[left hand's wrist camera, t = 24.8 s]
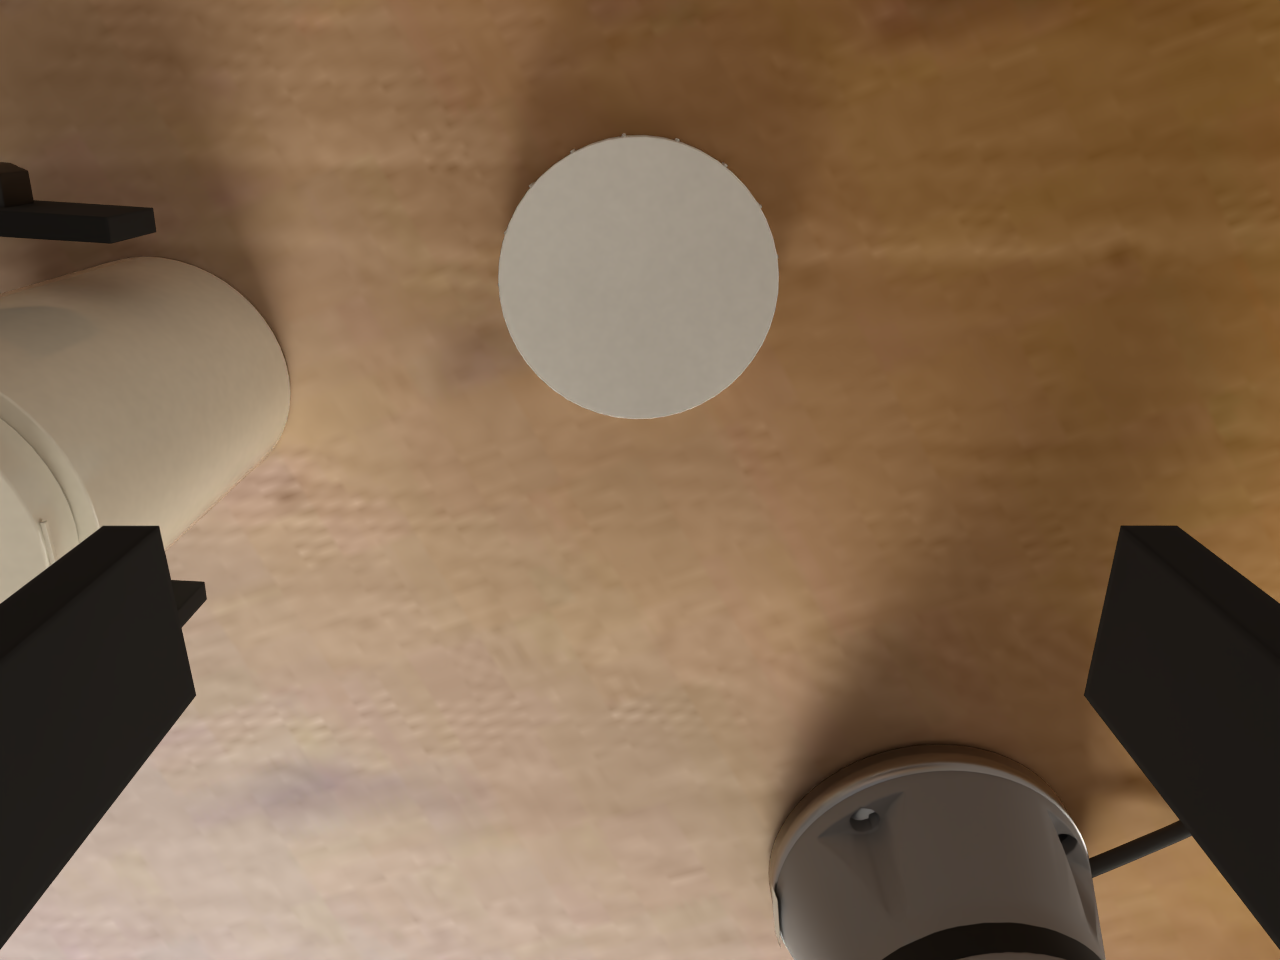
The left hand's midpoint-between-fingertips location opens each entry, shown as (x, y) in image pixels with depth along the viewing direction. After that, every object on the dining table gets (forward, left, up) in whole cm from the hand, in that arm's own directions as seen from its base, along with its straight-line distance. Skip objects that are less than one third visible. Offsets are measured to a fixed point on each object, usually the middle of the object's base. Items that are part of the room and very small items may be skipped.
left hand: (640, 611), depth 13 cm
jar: (+18, +6, -24) cm, 31 cm away
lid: (0, -1, -23) cm, 23 cm away
